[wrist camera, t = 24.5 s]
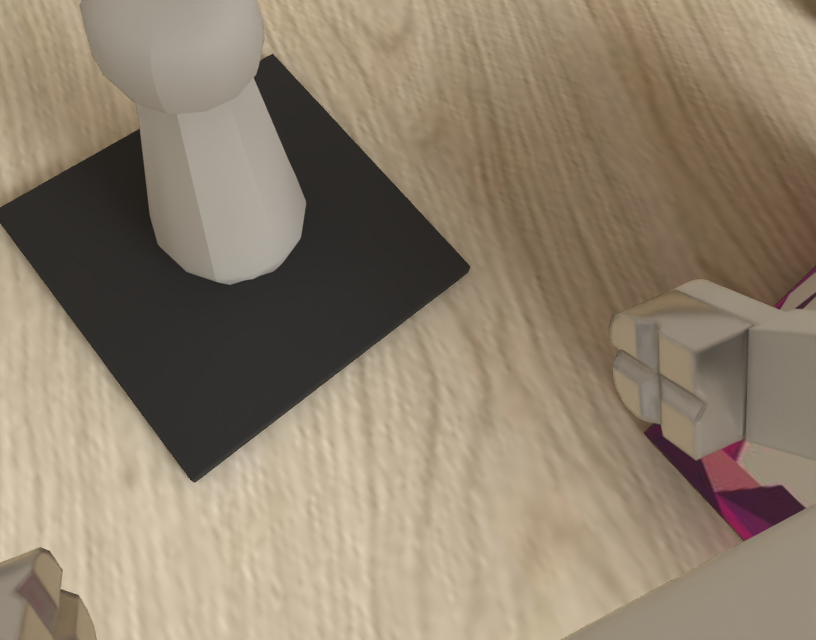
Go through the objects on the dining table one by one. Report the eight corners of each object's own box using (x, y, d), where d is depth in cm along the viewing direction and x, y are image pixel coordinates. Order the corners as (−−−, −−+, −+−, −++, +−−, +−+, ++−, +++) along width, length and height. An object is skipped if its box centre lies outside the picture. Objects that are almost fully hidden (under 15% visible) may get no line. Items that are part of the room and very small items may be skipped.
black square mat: (194, 483, 25) (191, 481, 24) (-2, 218, 28) (-9, 211, 27) (468, 272, 29) (471, 266, 28) (273, 61, 32) (272, 53, 31)
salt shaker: (136, 236, 27) (-23, -29, 15) (241, 155, 29) (175, -140, 17) (234, 331, 26) (147, 128, 14) (336, 240, 28) (337, -8, 16)
